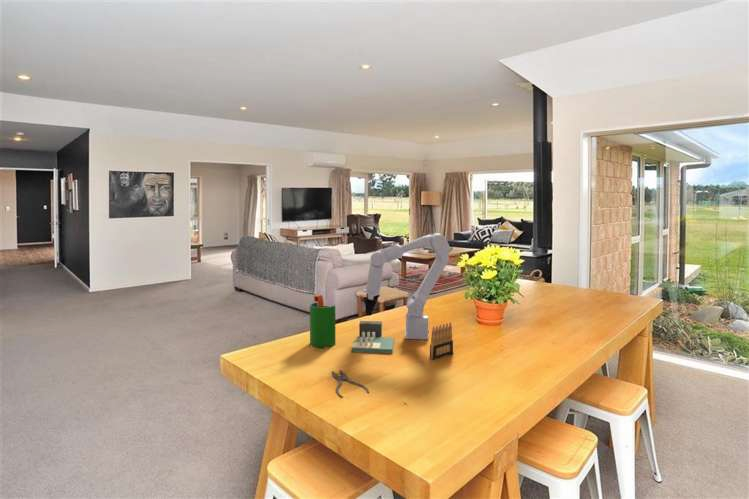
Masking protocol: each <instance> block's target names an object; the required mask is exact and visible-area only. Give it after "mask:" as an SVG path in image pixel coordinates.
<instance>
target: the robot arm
mask: <svg viewBox="0 0 749 499" xmlns="http://www.w3.org/2000/svg"><path fill="white" fill-rule="evenodd" d="M449 247H450V244H449V242H448V239H447V238H446V236H445V235H442V234H441V233H439V232H434V233H432V234H426V235H424V236H420V237H419V238H415V239H414V240H412V241H409V242H407V243H404V244H402V245H400V244H399V243H398V244H397V243H392V244H390V246H388V247H385V248H380V249H379V250H380V251H378V250H377V251H374V252H373V253H371V256H370V262H371V263H370V264H369V269H368V273H367V274H368V275H367V281H366V288H364V289H362V292H364V293H365V295H366V296H364V297H363V301H364V305H365V306H364V307H365V315H366V316H372V314H373V312H374V309H375V307H376V304H377V302H378V301H379V297H380V296H381V287H382V279H383V274H384V265H385V264H386V263H390V262H393V261H396V260H397V259H398V260H399V259H401V258H402V257H403V255H404V254H405V253H407V252H408V253H409V252H411V251H414V250H417V249H419V248H428V249H432V250H433V253H434V255H435V259H434V261H433V263H432V264H431V266H430V267H429V270H428V271H427V273H426V274H425V277H424V279H422V282H421V283H420V285H419V287H418V288H417V290H416V291H415V292H414V293H413V295H412V296H411V297H410V298H408V299H407V301H406V304H405V305H406V308H407V312H406V313H405V332H404V339H406V340H428V339H429V334H430V329H429V316H428V315H424V310H425V308H424V307H425V305H426V303H427V300H428V297H429V295H430V294H431V291H433V288H434V287H435V285H436V283H437V281H438V280H439V279H440V277H441V275H442V273H443V271H444V269H445V268H446V266H447V265H448V263H449V261H450V248H449Z"/></svg>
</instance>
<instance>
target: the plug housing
mask: <svg viewBox="0 0 749 499" xmlns="http://www.w3.org/2000/svg"><path fill="white" fill-rule="evenodd" d="M358 327H359V328H358V332H359V333H358V335H359V336H358V337H362V332H365V337H367V332H370V337H372V332H375V337H383V321H375V320H360V321H359V326H358Z"/></svg>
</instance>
